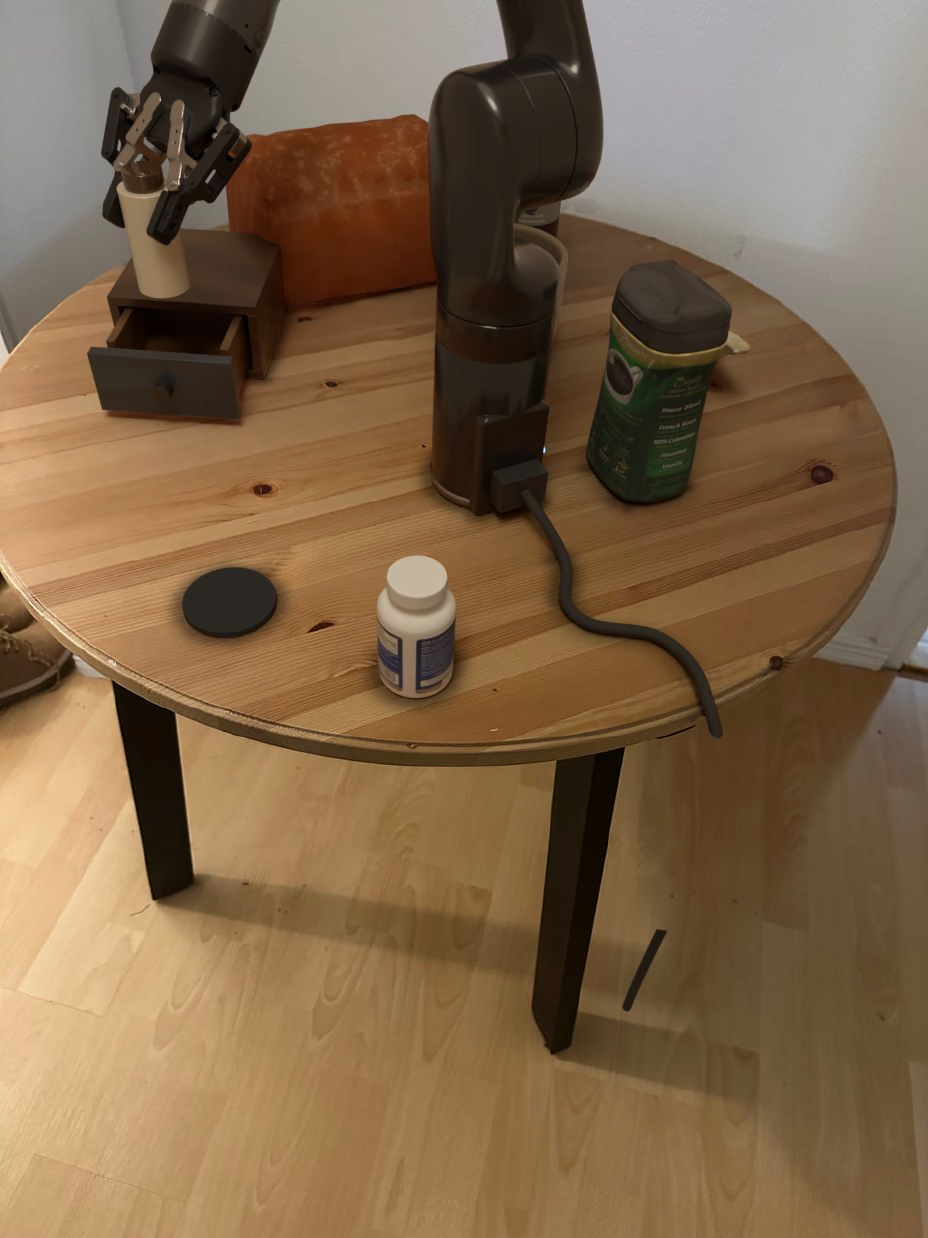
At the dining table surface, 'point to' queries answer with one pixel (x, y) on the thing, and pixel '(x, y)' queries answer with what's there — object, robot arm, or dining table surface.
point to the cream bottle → (153, 262)
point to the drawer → (173, 363)
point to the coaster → (229, 602)
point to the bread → (339, 206)
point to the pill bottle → (416, 628)
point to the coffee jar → (656, 380)
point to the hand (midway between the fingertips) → (135, 230)
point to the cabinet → (223, 287)
